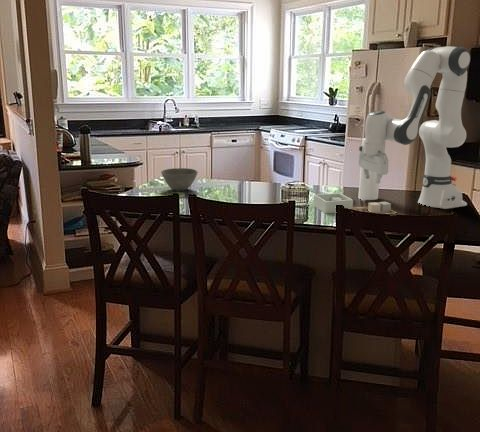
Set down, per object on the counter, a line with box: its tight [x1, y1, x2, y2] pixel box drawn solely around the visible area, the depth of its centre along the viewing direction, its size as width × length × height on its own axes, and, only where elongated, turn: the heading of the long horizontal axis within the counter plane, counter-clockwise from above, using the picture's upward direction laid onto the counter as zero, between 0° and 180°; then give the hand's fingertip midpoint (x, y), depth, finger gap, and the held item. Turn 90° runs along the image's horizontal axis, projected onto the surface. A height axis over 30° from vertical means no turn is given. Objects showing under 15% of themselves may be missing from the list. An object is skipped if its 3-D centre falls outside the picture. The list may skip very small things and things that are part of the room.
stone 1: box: [331, 197, 342, 201], centre depth 238 cm, size 4×4×4 cm
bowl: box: [160, 167, 199, 192], centre depth 269 cm, size 19×19×10 cm
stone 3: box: [377, 201, 392, 212], centre depth 230 cm, size 4×4×4 cm
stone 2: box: [367, 201, 381, 212], centre depth 229 cm, size 4×4×4 cm
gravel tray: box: [353, 206, 398, 214], centre depth 229 cm, size 16×12×2 cm
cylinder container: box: [357, 137, 380, 201], centre depth 251 cm, size 9×9×30 cm
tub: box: [312, 192, 354, 214], centre depth 235 cm, size 13×13×6 cm
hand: (372, 180), depth 227 cm, fingers open, 8 cm apart
